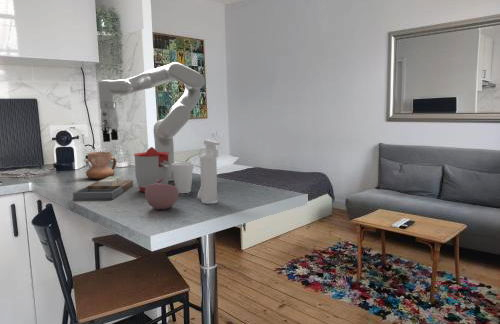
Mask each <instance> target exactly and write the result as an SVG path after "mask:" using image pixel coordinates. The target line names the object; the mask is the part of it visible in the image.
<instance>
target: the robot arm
mask: <svg viewBox="0 0 500 324" xmlns="http://www.w3.org/2000/svg"><path fill="white" fill-rule="evenodd" d="M174 81H177V82H179V83H180V84H183V85H184V93H183V94H182V95H181V97H180V98H179V99H178V100H177V101H176V102H175V103H174V104H173V105H172V106H171V107H170V109H169V110H168V114H167V115H166V116H165V117H164V118H162V119H159V120H156V122H155V123H154V125H153V129H152V130H153V138H154V149H155V150H156V151H157V152H167V153H169V163H170V166H169V181H168V182H174V177H173V171H172V163H175V152H174V149H175V147H174V137H175V136H176V135H177V133H179V132H180V131H181V129H182V128H183V127H184V126H185V125H186V124H187V123H188V121H189V120H190V117H191V112H192V111H193V109H194V108H195V107H196V105H197V104H198V102H199V101H200V98H201V89H202V88H203V87H204V85H205V77H204V75H202V74H201V73H200V72H198V71H197V70H194V69H192V68H190V67H188V66H186V65H184V64H182V63H179V62H177V61H174V62H171V63H169V64H165V65H163V66H159V67H156V68H151V69H149V70H147V71H144V72H141V73H140V74H138V75H136V76H135V75H134V76H133V77H129V78H125V79H115V80H112V79H102V80H101V79H100V80H99V81H98V82H97V87H98V88H97V89H98V95H99V96H98V100H99V109H100V117H101V118H100V121H101V122H100V123H101V124H100V126H101V127H100V128H101V133H102V141H103V143H110V142H111V141H118V140H119V136H118V132H119V130H118V128H119V118H118V112H117V111H118V110H117V109H118V108H117V97H116V95H118V96H123V97H124V96H127V95H130V94H133V93H136V92H140V91H143V90H149V89H153V88H156V87H158V86H162V85H165V84H168V83H171V82H174ZM110 131H111V132H110Z"/></svg>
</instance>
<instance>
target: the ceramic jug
mask: <svg viewBox="0 0 500 324" xmlns="http://www.w3.org/2000/svg"><path fill="white" fill-rule="evenodd" d="M112 154H113V152H112V151H90V152H87V155H86V156H87V158H85V159H83V162H85V163H86V162H89V164H90V165H91V167H90V168H88V169H87V170H86V171H85V175H86V177H87V178H89V179H90V180H91V179H92V180H103V179H105V178H107V177H109V176H114V175H115V169H116V165H117V159H116V157H114V156H112ZM111 160H112V161H113V163H112V167H110V166H109V164H110V162H111Z"/></svg>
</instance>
